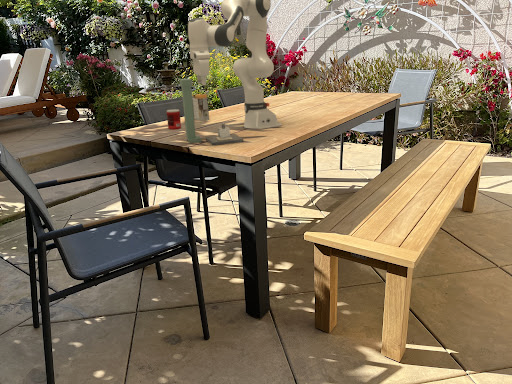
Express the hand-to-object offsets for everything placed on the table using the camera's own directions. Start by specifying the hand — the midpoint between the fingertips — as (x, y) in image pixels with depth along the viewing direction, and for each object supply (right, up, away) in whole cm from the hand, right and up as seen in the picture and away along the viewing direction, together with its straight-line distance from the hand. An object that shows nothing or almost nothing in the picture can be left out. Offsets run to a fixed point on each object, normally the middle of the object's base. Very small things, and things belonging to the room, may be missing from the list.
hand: (202, 84), depth 199 cm
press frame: (-6, -26, +12) cm, 29 cm away
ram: (-2, -14, +10) cm, 18 cm away
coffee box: (-10, -4, +75) cm, 76 cm away
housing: (+10, -25, +9) cm, 28 cm away
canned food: (-23, -14, +49) cm, 56 cm away
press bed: (+10, -26, +9) cm, 30 cm away
